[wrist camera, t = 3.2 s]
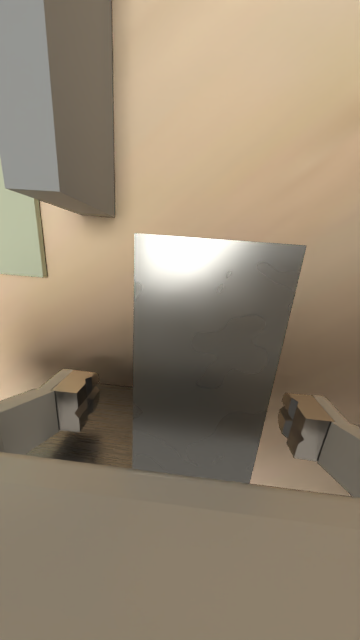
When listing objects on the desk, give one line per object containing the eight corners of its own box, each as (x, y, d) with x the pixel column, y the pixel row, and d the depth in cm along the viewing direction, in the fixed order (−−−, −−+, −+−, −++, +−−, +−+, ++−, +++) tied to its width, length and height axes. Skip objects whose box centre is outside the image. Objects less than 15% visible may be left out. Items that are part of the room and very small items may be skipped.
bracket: (252, 250, 10) (306, 245, 5) (218, 452, 13) (229, 564, 8) (42, 234, 10) (-96, 216, 5) (64, 431, 14) (-7, 525, 9)
